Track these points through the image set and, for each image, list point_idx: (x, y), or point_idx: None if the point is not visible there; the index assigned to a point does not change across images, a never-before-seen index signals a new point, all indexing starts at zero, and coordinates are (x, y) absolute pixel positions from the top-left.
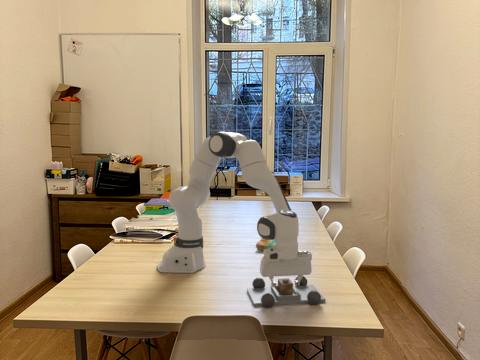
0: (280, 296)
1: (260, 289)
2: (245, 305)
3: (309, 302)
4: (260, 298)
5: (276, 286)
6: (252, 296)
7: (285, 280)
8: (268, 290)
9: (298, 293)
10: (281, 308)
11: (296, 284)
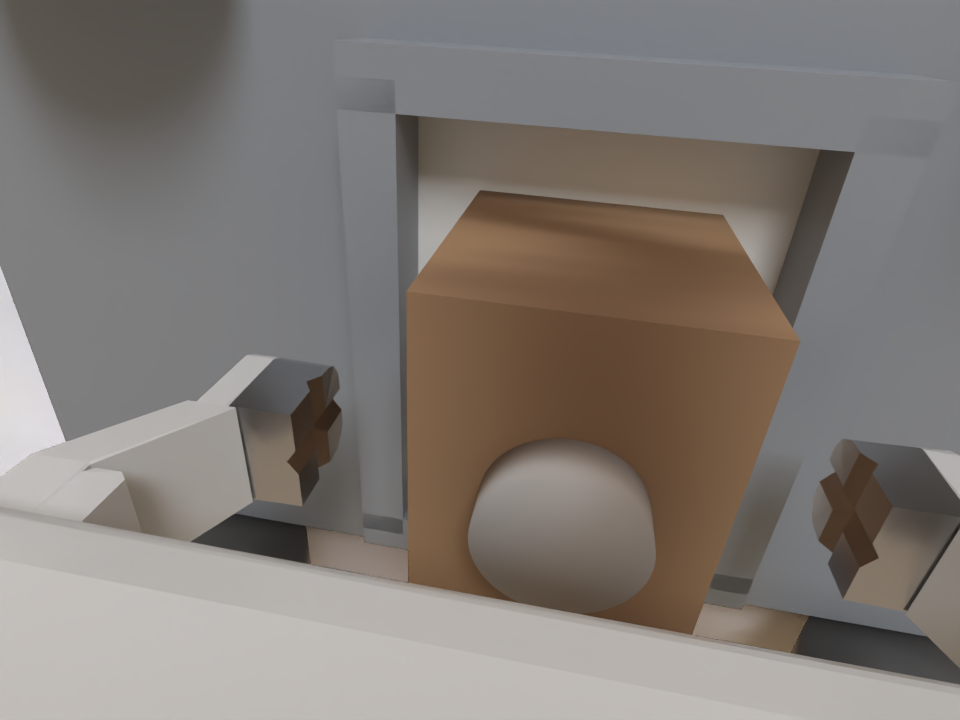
0: (404, 548)
1: (145, 19)
2: (14, 409)
3: (792, 650)
4: (154, 388)
5: (463, 114)
6: (35, 299)
7: (527, 599)
8: (303, 115)
9: (745, 556)
10: (407, 577)
11: (834, 542)
